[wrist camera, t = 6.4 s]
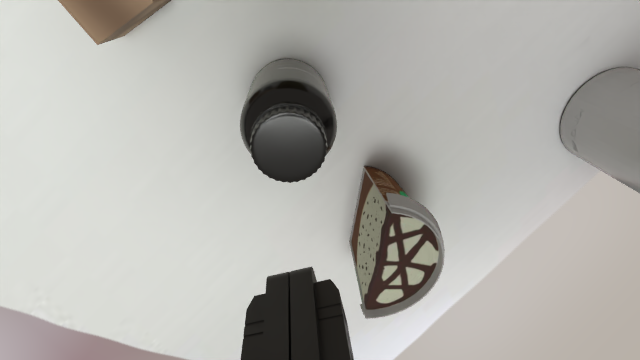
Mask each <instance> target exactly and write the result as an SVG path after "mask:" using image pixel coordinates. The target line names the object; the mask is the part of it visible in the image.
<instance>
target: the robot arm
mask: <svg viewBox="0 0 640 360" xmlns="http://www.w3.org/2000/svg"><path fill="white" fill-rule="evenodd" d="M560 135H561V139H562V142H563V144H564V145H565V147H566V148H567V149H568V150H569V151H570V152H571V153H573V154H574V155H576V156H578V157H579V158H581V159H583V160H585V161H586V162H588V163H590V164H591V165H593V166H595V167H596V168H598V169H599V170H601V171H603V172H605V173H606V174H608V175H610V176H611V177H613V178H615V179H617V180H618V181H620V182H621V183H623V184H625V185H627V186H628V187H630V188H632V189H633V190H635V191H637V192H638V193H640V70H638V69H634V68H630V67H620V68H615V69H611V70H608V71H605V72H603V73H601V74H599V75H597V76H595V77H594V78H592V79H591V80H589V81H588V82H587V83H586V84H584V85H583V86H582V87H581V88H580V89H579V90H578V91H577V92H576V93H575V95H574V96H573V97H572V98H571V100H570V102H569V103H568V105H567V106H566V109H565V111H564V113H563V116H562V120H561V125H560ZM241 360H354V358H353V353H352V348H351V342H350V337H349V331H348V325H347V320H346V316H345V312H344V309H343V305H342V301H341V297H340V293H339V289H338V288H337V287H336V286H335V284H334V283H333V282H332V281H331V280H330V279H329V280H324V281H320V282H317V281H316V277H315V274H314V271H313V268H312V267H308V268H304V269H299V270H295V271H291V272H286V273H282V274H277V275H273V276H268V277H267V282H266V294H261V295H257V296H254V298H253V299H252V301H251V303H250V305H249V307H248V308H247V311H246V320H245V328H244V339H243V345H242V354H241Z"/></svg>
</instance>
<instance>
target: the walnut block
mask: <svg viewBox="0 0 640 360" xmlns="http://www.w3.org/2000/svg"><path fill="white" fill-rule="evenodd" d="M58 1H59V2H60V3H61V4H62V5H63V6H64V8H65V9H66V10H67V11H68V12H69V13H70V14H71V16H72V17H73V18H74V19H75V20H76V21H77V22H78V23H79V25H80V26H81V27H82V28H83V29H84V30H85V31H86V32H87V34H88V35H89V36H90V37H91V38H92V39H93V40H94V41H95V43H96V44H97V45H99V44H102V43H105V42H108V41H111V40H114V39H117V38H120V37H122V36H125V35H126V34H127V33H129V32H130V31H131V30H133V29H134V28H135V27H137V26H138V25H139V24H141V23H142V22H143V21H145V20H146V19H147V18H149V17H150V16H151V15H153V14H154V13H155V12H156V11H158V10H159V9H160V8H162V7H163V6H164V5H166V4H167V3H168V2H170V1H171V0H58Z"/></svg>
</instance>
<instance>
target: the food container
mask: <svg viewBox="0 0 640 360" xmlns="http://www.w3.org/2000/svg"><path fill="white" fill-rule="evenodd" d="M349 242H350V246H351V251H352V256H353V261H354V266H355V271H356V276H357V281H358V285H359V290H360V295H361V300H362V304H361V305H360V306H361V309H362V312H363V314H364V315H365V318H366V319H367V318H379V317H385V316H389V315H392V314H396V313H398V312H401V311H403V310H405V309H407V308H409V307H411V306H413V305H414V304H416V303H417V302H418V301H420V300H421V299H422V298H423V297H424V296H426V295H427V294H428V293H429V291H430V290H431V289H432V288H433V287H434V285H435V284H436V282H437V281H438V279H439V276H440V274H441V272H442V268H443V264H444V243H443V239H442V235H441V231H440V228H439V226H438V223H437V221H436V219H435V218H434V216H433V215H432V214H431V213H430V212H429V210H428V209H427V208H426V207H424V206H423V205H421V204H420V203H419V202H417V201H415V200H413V199H411V198H409V197H408V196H407V195H406V193H405V192H404V191H403V190H402V188H401V187H400V186H399V185H398V183H397V182H396V181H395V180H394V179H393V178H392V177H391V176H390V175H389V174H387V173H386V172H384V171H382V170H380V169H377V168H373V167H368V166H364V168H363V174H362V179H361V184H360V189H359V194H358V199H357V205H356V210H355V215H354V220H353V225H352V231H351V236H350V241H349Z"/></svg>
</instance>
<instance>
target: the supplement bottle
mask: <svg viewBox="0 0 640 360" xmlns="http://www.w3.org/2000/svg"><path fill="white" fill-rule="evenodd" d="M240 131H241V136H242V139H243V142H244V144H245V146H246V148H247V150H248V151H249V152H250V154H251V156H252V158H253V159H254V163H255V164H256V165H257V166H258V169H259V170H261V171H262V172H263V174H265V175H267V176H268V177H269V178H273V179H275V180H276V181H282V182H290V183H291V182H294V181H295V182H298V181H300V180H305V179H306V178H307V177H310V176H311V175H312V174H313V173H315V172H317V170H318V168H320V167H321V164H322V163H323V162H324V160H325V158H324V157H325V156H326V155H327V153H328V152H329V151H330V149H331V147H332V145H333V143H334V140H335V137H336V132H337V121H336V115H335V111H334V108H333V105H332V102H331V100H330V97H329V94H328V91H327V88H326V86H325V83H324V81H323V79H322V78H321V76H320V75H319V73H318V72H317V71H316V70H315V69H314V68H313V67H311V66H310V65H308V64H307V63H304V62H302V61H299V60H295V59H281V60H277V61H274V62H272V63H270V64H268V65H267V66H265V67H264V68H263V69H262V70H261V71H260V72H259V73H258V74H257V76H256V77H255V79H254V81H253V83H252V85H251V88H250V91H249V93H248V96H247V99H246V101H245V104H244V107H243V110H242V114H241V119H240Z"/></svg>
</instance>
